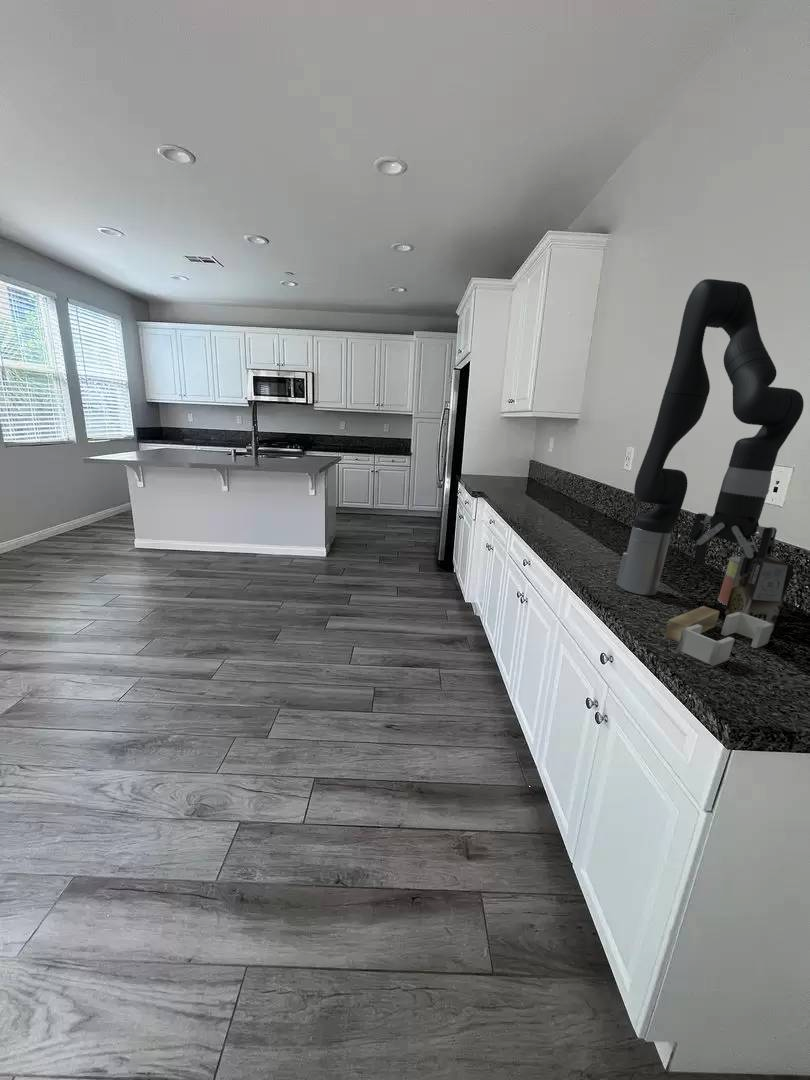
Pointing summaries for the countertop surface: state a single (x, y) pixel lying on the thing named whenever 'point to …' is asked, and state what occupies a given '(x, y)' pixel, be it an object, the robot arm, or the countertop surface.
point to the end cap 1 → (704, 646)
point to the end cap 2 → (748, 628)
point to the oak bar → (691, 621)
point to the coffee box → (760, 589)
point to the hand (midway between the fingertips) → (720, 568)
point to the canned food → (729, 580)
